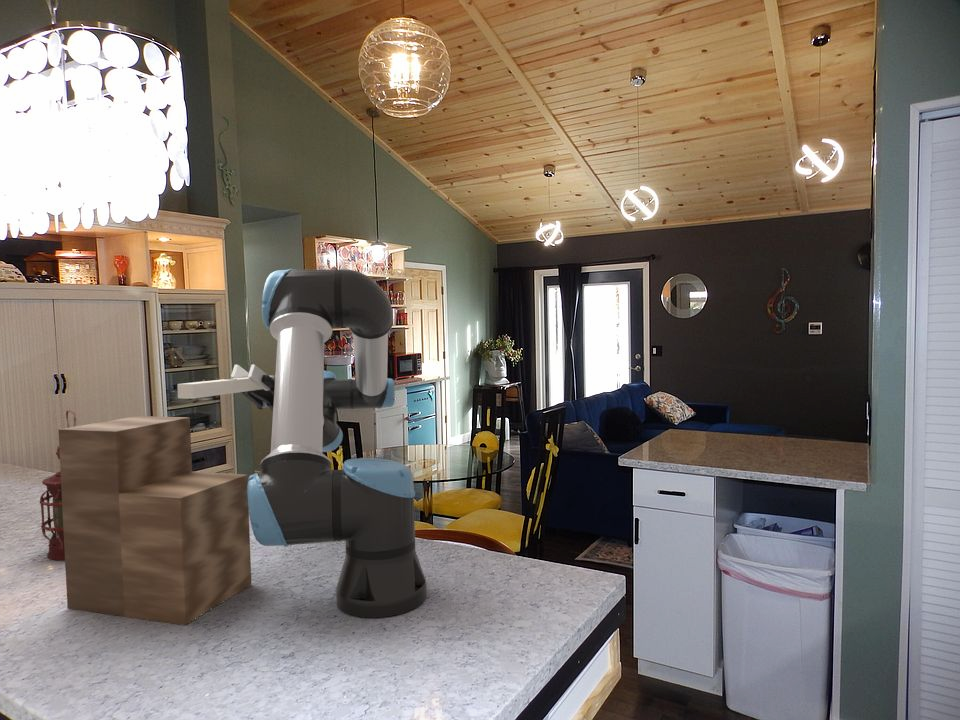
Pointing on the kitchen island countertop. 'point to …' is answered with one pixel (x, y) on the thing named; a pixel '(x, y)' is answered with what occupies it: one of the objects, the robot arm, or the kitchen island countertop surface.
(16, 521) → the kitchen island countertop surface
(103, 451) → the two tier stand
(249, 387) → the domino bar
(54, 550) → the lantern
